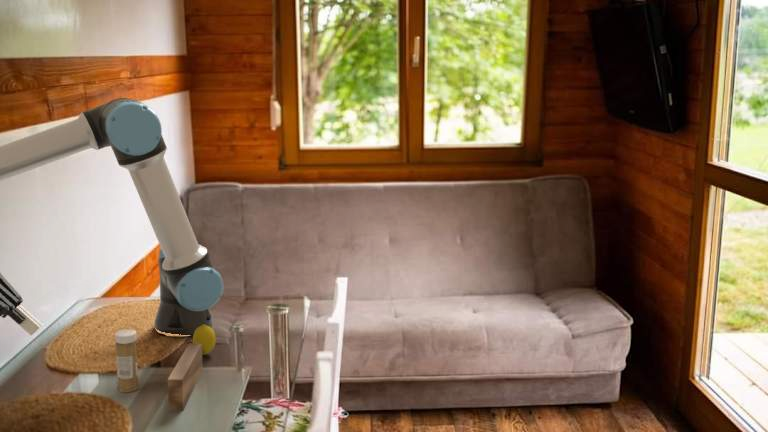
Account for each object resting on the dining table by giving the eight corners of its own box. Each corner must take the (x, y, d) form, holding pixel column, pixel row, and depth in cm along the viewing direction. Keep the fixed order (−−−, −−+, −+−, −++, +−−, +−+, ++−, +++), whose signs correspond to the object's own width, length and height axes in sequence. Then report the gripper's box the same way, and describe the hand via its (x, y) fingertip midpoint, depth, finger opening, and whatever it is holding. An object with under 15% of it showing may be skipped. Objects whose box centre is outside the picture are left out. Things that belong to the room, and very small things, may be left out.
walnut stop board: (168, 410, 165) (167, 379, 163) (189, 371, 184) (189, 343, 183) (183, 410, 165) (182, 379, 163) (202, 371, 184) (201, 343, 183)
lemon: (205, 348, 198) (204, 319, 196) (220, 354, 195) (220, 324, 193) (188, 355, 193) (187, 325, 191) (203, 361, 190) (202, 330, 188)
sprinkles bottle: (143, 386, 176) (140, 330, 173) (130, 394, 171) (127, 337, 168) (125, 383, 177) (123, 327, 174) (113, 391, 173) (110, 334, 170)
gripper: (-43, 258, 174) (38, 330, 178) (-77, 275, 161) (12, 353, 165) (-21, 235, 173) (60, 308, 177) (-53, 251, 160) (35, 329, 164)
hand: (36, 329), depth 171 cm, fingers closed
